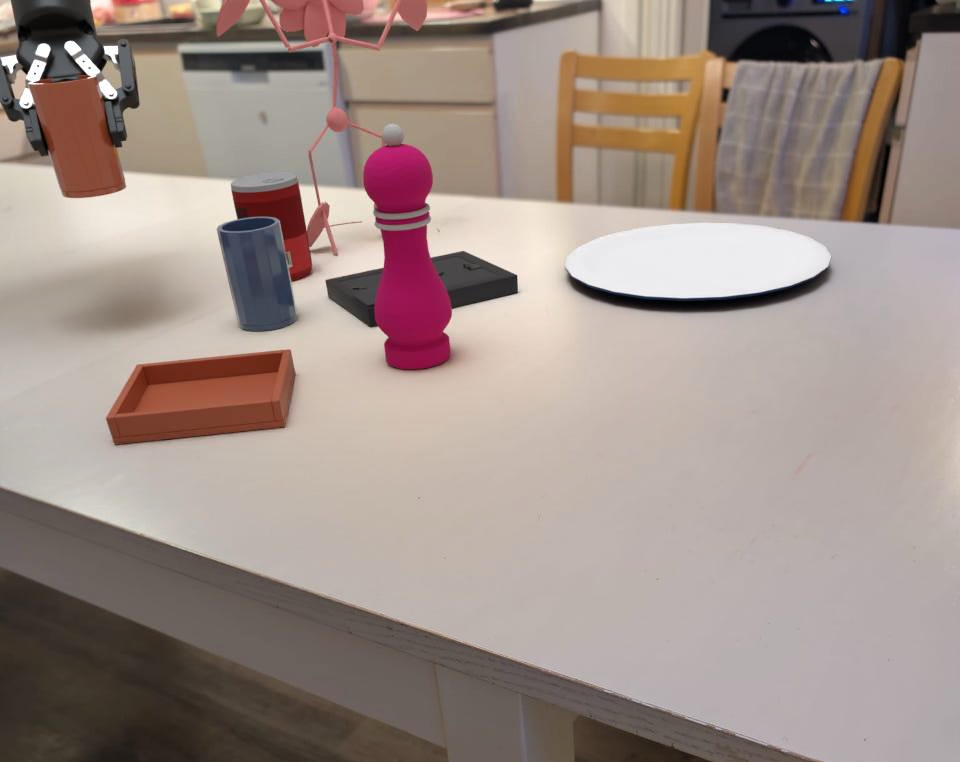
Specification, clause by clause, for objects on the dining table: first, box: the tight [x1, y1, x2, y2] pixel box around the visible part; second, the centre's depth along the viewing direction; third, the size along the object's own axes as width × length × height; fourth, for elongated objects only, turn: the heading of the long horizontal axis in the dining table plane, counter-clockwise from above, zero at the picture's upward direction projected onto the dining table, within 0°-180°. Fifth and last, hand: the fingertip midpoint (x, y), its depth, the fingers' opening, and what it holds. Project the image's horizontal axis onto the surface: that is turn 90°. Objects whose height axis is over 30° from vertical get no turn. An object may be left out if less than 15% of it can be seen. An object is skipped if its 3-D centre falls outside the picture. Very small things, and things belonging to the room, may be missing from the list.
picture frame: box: [325, 250, 519, 328], centre depth 105 cm, size 13×2×18 cm
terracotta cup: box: [27, 75, 127, 199], centre depth 94 cm, size 6×6×10 cm
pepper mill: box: [362, 123, 453, 370], centre depth 84 cm, size 7×7×20 cm
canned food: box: [230, 171, 313, 282], centre depth 113 cm, size 8×8×11 cm
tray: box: [105, 349, 296, 445], centre depth 83 cm, size 14×12×2 cm
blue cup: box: [216, 217, 298, 332], centre depth 99 cm, size 6×6×10 cm
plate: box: [564, 222, 833, 302], centre depth 105 cm, size 29×29×2 cm
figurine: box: [215, 0, 440, 256], centre depth 119 cm, size 15×26×35 cm, turn 119°
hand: (80, 146), depth 93 cm, fingers closed on terracotta cup, 6 cm apart
